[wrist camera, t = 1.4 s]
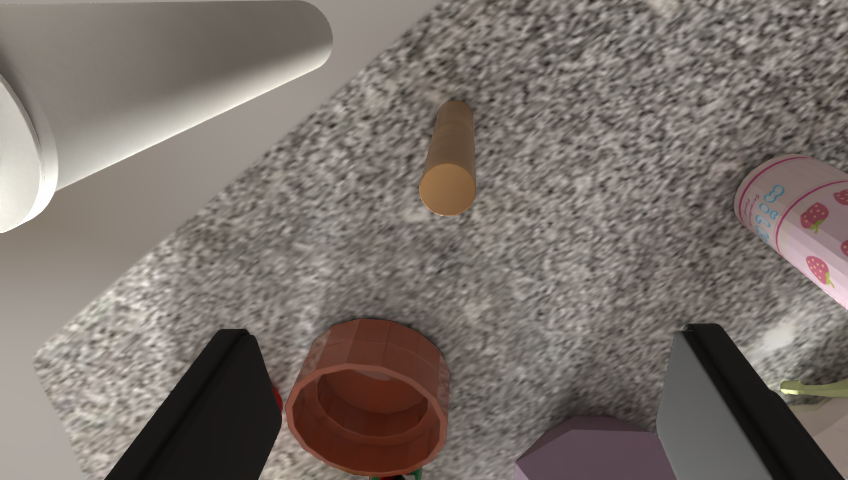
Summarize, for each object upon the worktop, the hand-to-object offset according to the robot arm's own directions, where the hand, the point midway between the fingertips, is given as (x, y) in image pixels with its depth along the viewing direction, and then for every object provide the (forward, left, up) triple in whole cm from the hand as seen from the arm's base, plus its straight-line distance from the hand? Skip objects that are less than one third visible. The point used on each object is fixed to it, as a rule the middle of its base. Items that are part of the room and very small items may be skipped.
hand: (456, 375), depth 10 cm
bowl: (+3, -24, -23) cm, 33 cm away
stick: (-1, 0, -23) cm, 23 cm away
